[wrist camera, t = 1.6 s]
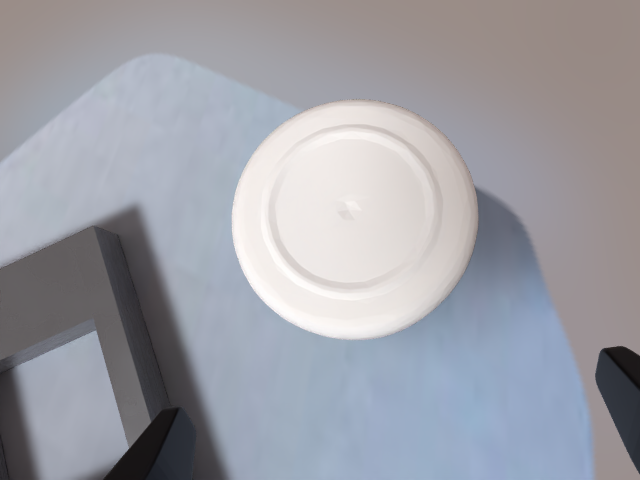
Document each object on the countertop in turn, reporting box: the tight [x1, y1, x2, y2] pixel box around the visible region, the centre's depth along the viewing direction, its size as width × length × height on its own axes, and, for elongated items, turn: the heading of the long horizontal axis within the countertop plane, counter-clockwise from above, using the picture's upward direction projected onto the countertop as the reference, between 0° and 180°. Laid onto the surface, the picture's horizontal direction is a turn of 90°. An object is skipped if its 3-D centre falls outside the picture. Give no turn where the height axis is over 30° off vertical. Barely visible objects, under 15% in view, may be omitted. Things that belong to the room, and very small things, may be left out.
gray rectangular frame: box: [0, 226, 193, 480], centre depth 20 cm, size 16×10×2 cm, turn 23°
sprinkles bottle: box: [232, 99, 478, 340], centre depth 14 cm, size 5×5×13 cm
